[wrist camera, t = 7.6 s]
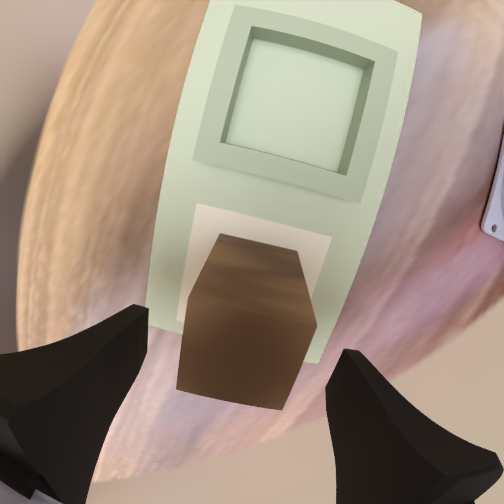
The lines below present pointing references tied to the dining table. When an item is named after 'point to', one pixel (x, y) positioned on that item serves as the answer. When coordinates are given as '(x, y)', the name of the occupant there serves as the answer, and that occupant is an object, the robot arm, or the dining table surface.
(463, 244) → the dining table surface
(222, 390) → the walnut post
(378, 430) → the robot arm
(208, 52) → the pocket board
